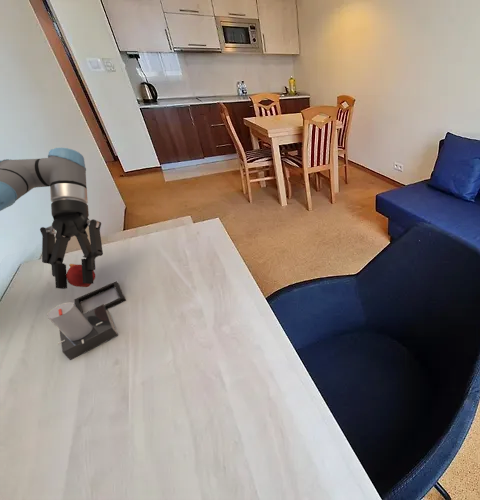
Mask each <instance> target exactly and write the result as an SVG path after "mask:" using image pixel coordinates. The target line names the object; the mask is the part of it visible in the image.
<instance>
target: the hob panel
mask: <svg viewBox="0 0 480 500" xmlns="http://www.w3.org/2000/svg"><path fill="white" fill-rule="evenodd" d="M83 316H84V317H85V318H86V319H87V320H88V321H89V323H90V324H91V325H92V326H93V329H92V331H91V332H90V333H89V334H88V335H87V336H85V337H83V338H81V339H79V340H76V341H70V340H69V339H68V338H67V337H66V336H65V335H64V334H63V333H62V332H61V331H60V330H59V329H58V331H59V337H60V341H58V342H57V344H56V345H60V344H61V350H62V353H63V354H64V356H66V358H68V360H69V361H71V360H73V359H75V358H77V357H79V356H81V355H83V354H85V353H86V352H87V353H88V351H91V350H93V349H95V348H96V347H98V346H100V345H102V344H104V343H106V342H108V341H110V340H113V339H114V338H116V337H118V336H119V334H118V332H117V328H116V326H115V323H114V320H113V317H112V315H111V312H110V310H109V309H107V308H106V307H105V304H101V305H98V306H96V307H94V308H92V309H90V310H88V311H86V312H85V311H84V312H83Z"/></svg>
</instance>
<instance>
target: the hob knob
mask: <svg viewBox="0 0 480 500" xmlns="http://www.w3.org/2000/svg"><path fill="white" fill-rule="evenodd" d="M46 317H47V318H48V319H49V321H51V323H52V324H53V325H54V326H55V327H56V328H57V329H58V331H59V330H60V331H61V332H62V333H63V334H64V335H65V336H66V337H67V338H68V339H69V340H70V341H76V340H79V339H81V338H83V337H85V336H87V335H88V334H89V333H90V332H91V331H92V329H93V326H92V325H91V324H90V323H89V321H88V320H87V319H86V318H85V317H84V316H83V314H82V313H81V312H80V311H79V310H78V308H77V307H76V306H75V303H74V302H71V301H67V302H64V303H63V302H62V303H60V304H58V305H56V306H54V307H53V308H51V310H49V311H48V312H47V313H46ZM60 331H59V332H60Z"/></svg>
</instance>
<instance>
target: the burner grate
mask: <svg viewBox="0 0 480 500" xmlns="http://www.w3.org/2000/svg"><path fill="white" fill-rule="evenodd" d="M113 288H115V290H116V293H117V296H118V298H116V299H114V300H112V301H110V302H107V303H105V304H104V305H105V307H106V308H107V309H108V310H109V309H111V308H114V307H115V306H117V305H119V304H122V303H124V302H126V301H127V300H126V296H125V294H124V293H123V290H122V288H121V286H120V284H119V282H118V281H117V280H116V281H115V280H114V281H113V282H111V283H109V284H106V285H103V286H102V287H100V288H96V289H95V290H92V291H90V292H88V293H85V294H83V295H81V296H79V297H76V298H74V299H73V301H74V302H73V303H74V305H75V306H76V307H77V308H78V310H79V311H80V312H81V313H82V314H83V313H84V309H83V306H82V302H84V301H87V300H89V299H91V298H93V297H96V296H98V295H100V294H102V293H104V292H107V291H109V290H112V289H113Z"/></svg>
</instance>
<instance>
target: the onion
mask: <svg viewBox="0 0 480 500" xmlns="http://www.w3.org/2000/svg"><path fill="white" fill-rule="evenodd" d="M68 266H69V268H68V270H67V271H66V277H67V283H68V284H69V285H71V286H74V287H76V288H89V287H90V286H91V285H92V284H86V283H83V277H82V264H74V263H70V264H68ZM95 279H96V273H95V270H94V271H93V282H95Z"/></svg>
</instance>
